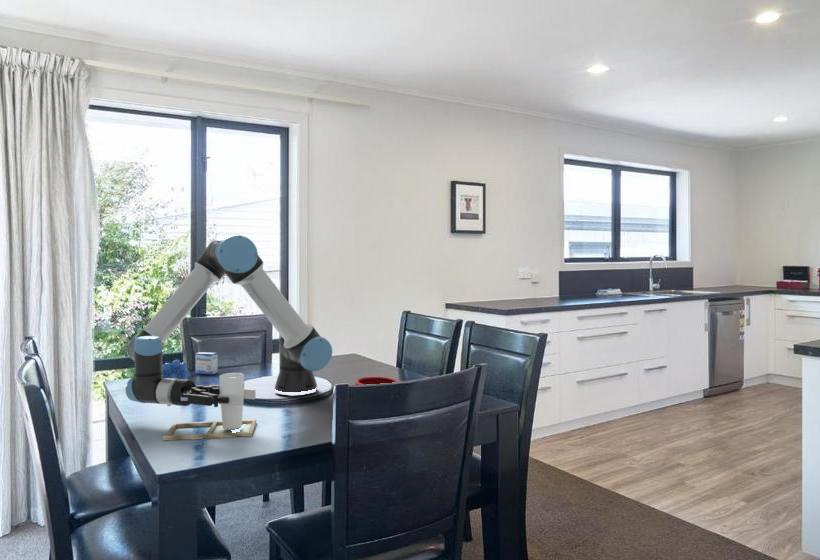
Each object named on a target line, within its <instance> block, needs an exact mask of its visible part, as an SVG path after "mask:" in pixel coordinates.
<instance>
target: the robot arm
mask: <svg viewBox="0 0 820 560" xmlns="http://www.w3.org/2000/svg"><path fill="white" fill-rule="evenodd" d="M263 267H264V260H263V259H261V257H260V255H259V252H258V249H257V246H256V244H255V243H254V242H253V241H252V240H251V239H250V238H248V237H246V236H244V235H241V234H235V233H233V234H227V235H220V236H218V237H216V238H214V239H213V240H212V241H211V242H210V243H209V244H208V245H207V247H205V249H204V251H203V252H202V253H201V254H200V256H199V257H198V258H197V260H195V262H194V267H193V269H192V271H191V272H190V273H189V274H188V276H187V277H185V278H184V280H183V281H182V283H181V284H180V285H179V286H178V287H177V288H176V290H174V292H173V294H171V296H170V297H169V298H168V299H167V300H166V302H165V303H164V304H163V305H162V307H160V308H159V310H158V311H157V312H156V314H155V315H154V316H153V317H152V318H151V320H149V322H148V323H147V324H146V326H145V327H144V328H143V329H142V331H141V332H140V333H139V334H138V335H137V336H136V337H135V338H134V337H133V338H132V339H131V340H130V341H129V343H128V345H127V354H128V356H129V358H130V359H131V360H132V361H134V375H133V376H132V377H130V378H129V379H128V381H127V383H126V387H125V395H126V397H127V398H128V399H129V400H130V401H132V402H136V403H142V404H158V405H167V407H170V406H174V405H175V406H181V407H188V406H191V405H198V406H199V405H200V406H206V407H207V406H208V407H211V406H213V407H214V408H218V407H219V405H221V404H224V405H237V406H241V405H242V395H230V394H220V393H219V384H212V383H211V384H210V383H209V384H207V385H202V384H199V385H196V384H195V382H194V381H193V380H191V379H187V378H186V379H174V378H163V371H162V370H163V369H162V367H163V350H164V347H163V345H164V343H165V342H166V341H167V340H168V339H169V337H171V335H172V334H173V333H174V332H175V330H176V329H177V328H178V327H179V325H180V324H181V323H182V321H183V320H184V319H185V318H186V317H187V315H188V314H189V313H190V312H191V310H193V308H194V307H195V306H196V304H197V303H198V302H199V301H200V300H201V298H202V297H203V296H204V295H205V293H207V291H208V290H209V289H210V287H211V286H212V285H213V284H214V283H215V282H220V280H221V279H222V278H223V277H224V275H226V276H227V278H228V279H229V280H230V281H231V283H232V284H233V285H239V286H241V287H242V288H243V290H244V291H245V292H246V293H247V295H248V297H250V298H251V299H252V301H253V302H254V303H255V305H256V306H257V307H258V308H259V310H260V311H261V313H263V315H264V316H265V318H266V319H268V321H269V322H270V323H271V324H272V326H273V327H274V328H275V330H276V331H277V332H278V334H279V338H278V346H279V347H278V349H279V353H278V354H279V356H278V357H279V358H278V359H279V370H278V371H279V373H278V374H277V378H276V382H275V385H274V390H275V389H276V390H278V391H282V392H301V391H308V390H312V389H315V388H316V387H317V388H318V384H317V382H316V377H315V374H314V372H318V371H322V370H324V368H326V367H327V366H328V365H329V364H330V362H331V360H332V357H333V347H332V344H331V342H330V341H329V340H328V339H326V338H325V337H324V336H321V335H320V334H319V332H318V331H317V330H316V328H315V327H314V326H313V324H310V323H305V321H304V320H303V319H302V318H301V316H300V315H299V314H298V312H297V311H296V310H295V308H294V307H293V306H292V305H291V304H290V302H289V301H288V300H287V299H286V297H285V296H284V295H283V292H281V291H280V289H279V288H278V286H277V285H276V284H275V283H274V281H273V280H272V279H271V277H269V275H268V274H267V272H266V271H265V270H264V268H263ZM256 394H257V391H256V389H254V388H244V400H255V399H257V398H256V397H257V396H256Z"/></svg>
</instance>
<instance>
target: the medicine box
mask: <svg viewBox="0 0 820 560" xmlns="http://www.w3.org/2000/svg"><path fill="white" fill-rule="evenodd" d="M218 354H219V353H218V352H207V351H205V352H204V351H199V352H196V353H195V374H196V375H215V374H217V373H218V370H219V369H218V368H219V367H218V363H219V362H218V361H219V360H218Z"/></svg>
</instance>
